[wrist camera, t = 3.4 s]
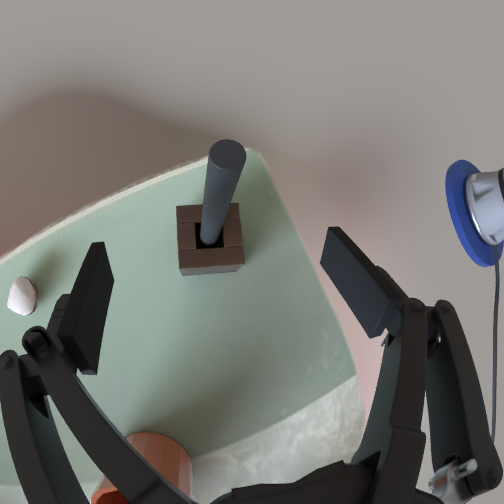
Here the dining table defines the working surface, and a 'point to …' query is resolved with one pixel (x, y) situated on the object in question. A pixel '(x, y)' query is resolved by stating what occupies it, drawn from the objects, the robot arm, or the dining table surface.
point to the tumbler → (161, 458)
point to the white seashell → (23, 296)
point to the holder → (208, 259)
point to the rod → (220, 188)
